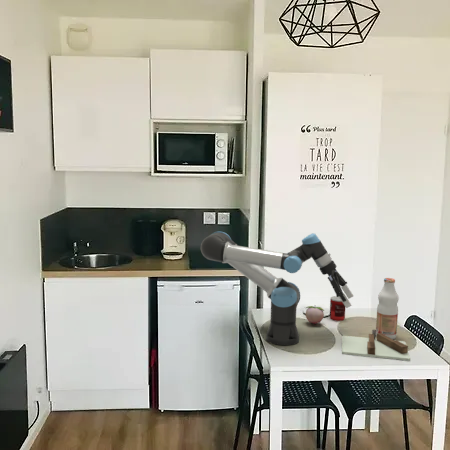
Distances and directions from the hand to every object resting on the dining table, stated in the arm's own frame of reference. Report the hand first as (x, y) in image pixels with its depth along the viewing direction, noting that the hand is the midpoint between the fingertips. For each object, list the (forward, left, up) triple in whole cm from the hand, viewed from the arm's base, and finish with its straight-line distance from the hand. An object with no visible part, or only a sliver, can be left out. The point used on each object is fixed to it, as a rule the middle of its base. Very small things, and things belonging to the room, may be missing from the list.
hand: (350, 302), depth 243 cm
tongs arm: (+19, -11, -15) cm, 27 cm away
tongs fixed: (+10, -13, -16) cm, 23 cm away
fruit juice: (+17, +4, -17) cm, 24 cm away
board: (+11, -13, -17) cm, 24 cm away
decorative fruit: (-17, +12, -17) cm, 27 cm away
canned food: (-6, +24, -17) cm, 30 cm away
